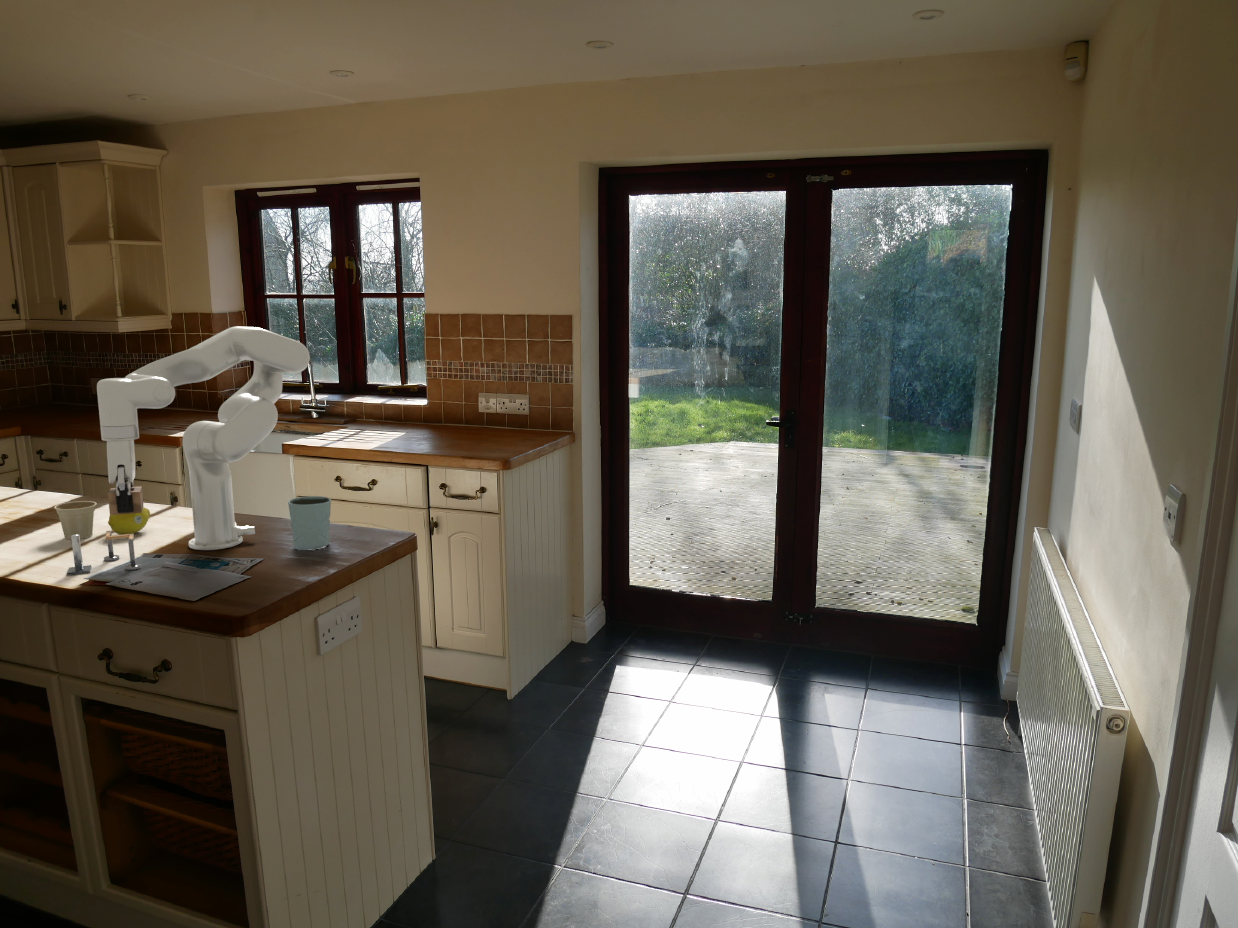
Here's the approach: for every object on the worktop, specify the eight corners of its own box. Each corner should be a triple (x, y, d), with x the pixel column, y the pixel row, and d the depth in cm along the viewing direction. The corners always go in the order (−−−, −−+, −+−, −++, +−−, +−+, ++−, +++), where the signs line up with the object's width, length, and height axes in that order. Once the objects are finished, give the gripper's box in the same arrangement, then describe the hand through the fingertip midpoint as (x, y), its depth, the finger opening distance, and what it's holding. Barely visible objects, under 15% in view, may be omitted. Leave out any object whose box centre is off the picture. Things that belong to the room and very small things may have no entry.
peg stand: (91, 567, 203) (87, 531, 201) (89, 572, 199) (85, 536, 198) (69, 569, 201) (65, 533, 199) (67, 575, 197) (62, 538, 196)
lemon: (115, 540, 225) (111, 510, 224) (103, 535, 230) (99, 505, 229) (158, 532, 233) (155, 503, 232) (146, 527, 238) (143, 498, 237)
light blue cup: (282, 547, 220) (279, 501, 218) (313, 538, 229) (310, 493, 226) (311, 553, 215) (308, 506, 213) (341, 543, 224) (339, 498, 222)
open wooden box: (143, 506, 207) (141, 486, 206) (141, 512, 201) (139, 491, 200) (112, 509, 204) (110, 488, 203) (109, 515, 198) (107, 493, 198)
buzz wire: (114, 556, 211) (111, 528, 210) (151, 565, 205) (148, 536, 204) (93, 562, 207) (90, 533, 206) (131, 571, 201) (128, 541, 199)
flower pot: (108, 532, 232) (104, 501, 231) (83, 542, 223) (79, 509, 222) (75, 531, 233) (71, 500, 232) (49, 541, 224) (45, 508, 222)
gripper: (105, 428, 206) (112, 502, 209) (96, 438, 190) (104, 518, 193) (141, 426, 209) (147, 499, 212) (135, 437, 193) (142, 515, 196)
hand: (126, 508), depth 203 cm, fingers closed on open wooden box, 6 cm apart
